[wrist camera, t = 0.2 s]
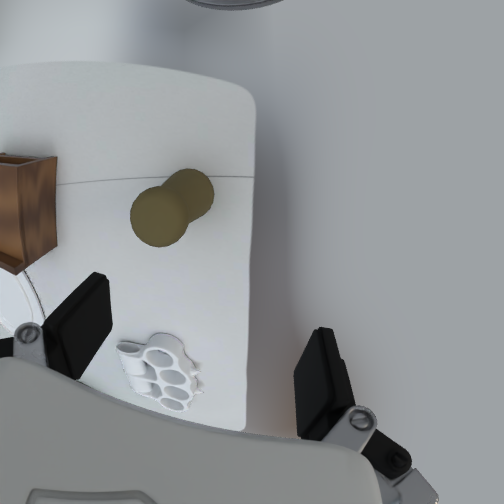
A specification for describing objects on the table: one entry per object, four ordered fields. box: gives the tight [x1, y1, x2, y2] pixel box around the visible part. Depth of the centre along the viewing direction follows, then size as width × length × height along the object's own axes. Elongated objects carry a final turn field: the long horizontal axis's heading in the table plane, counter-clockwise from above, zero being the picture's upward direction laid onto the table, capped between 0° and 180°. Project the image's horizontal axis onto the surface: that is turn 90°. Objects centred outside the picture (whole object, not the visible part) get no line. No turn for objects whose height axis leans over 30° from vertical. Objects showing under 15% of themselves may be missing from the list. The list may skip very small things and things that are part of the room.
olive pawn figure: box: [130, 169, 214, 247], centre depth 25 cm, size 6×6×11 cm
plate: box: [0, 268, 45, 336], centre depth 40 cm, size 28×28×1 cm
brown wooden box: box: [0, 153, 57, 276], centre depth 27 cm, size 14×16×10 cm
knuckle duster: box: [116, 333, 204, 412], centre depth 41 cm, size 3×18×15 cm
